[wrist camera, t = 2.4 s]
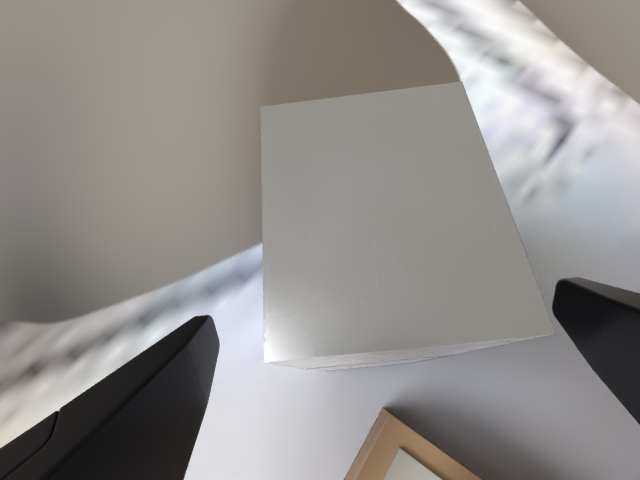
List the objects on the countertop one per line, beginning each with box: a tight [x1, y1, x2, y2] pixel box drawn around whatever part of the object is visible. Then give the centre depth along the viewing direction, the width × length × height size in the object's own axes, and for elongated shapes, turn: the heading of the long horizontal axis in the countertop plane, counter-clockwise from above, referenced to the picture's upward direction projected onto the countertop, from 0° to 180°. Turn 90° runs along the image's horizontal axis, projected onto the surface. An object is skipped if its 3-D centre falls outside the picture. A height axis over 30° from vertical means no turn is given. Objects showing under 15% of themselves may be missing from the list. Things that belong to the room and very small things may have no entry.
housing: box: [261, 82, 556, 371], centre depth 12 cm, size 6×5×12 cm
